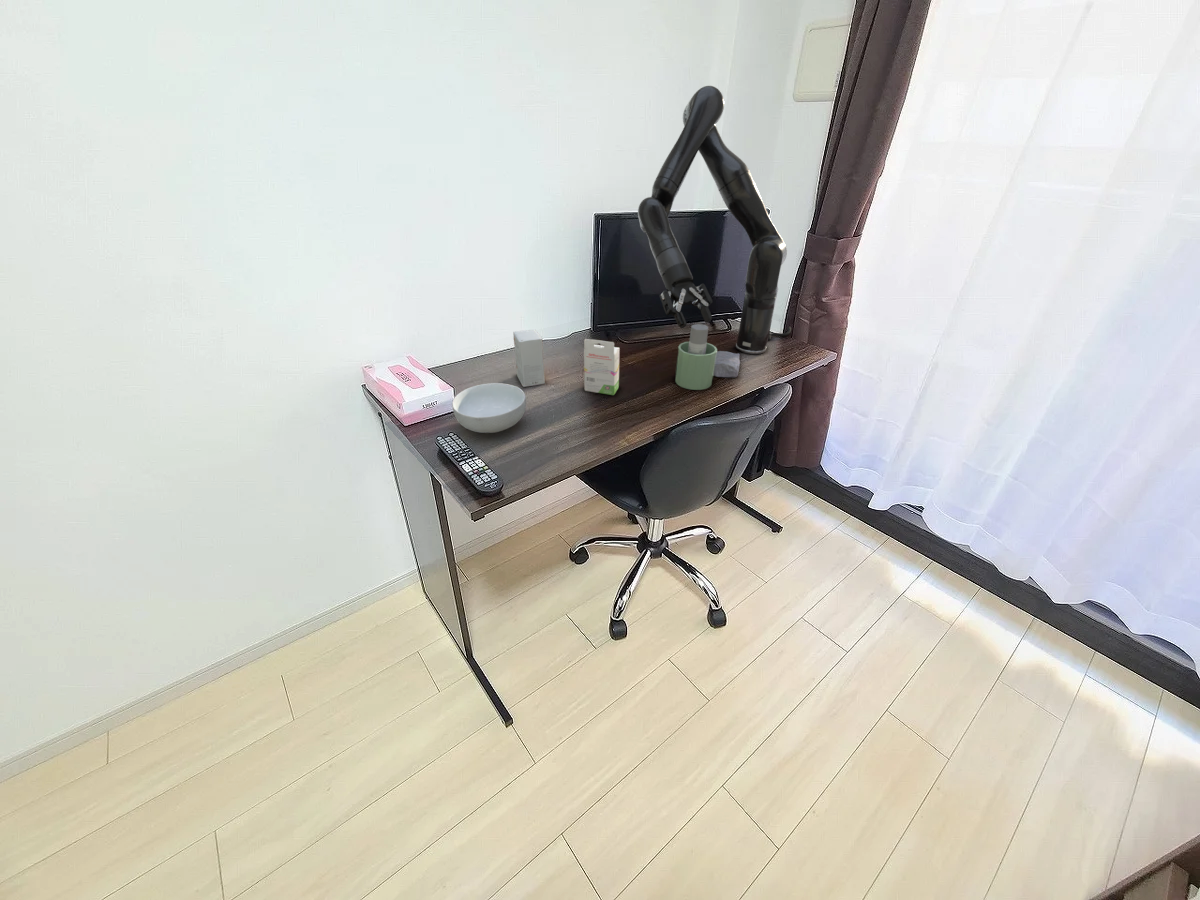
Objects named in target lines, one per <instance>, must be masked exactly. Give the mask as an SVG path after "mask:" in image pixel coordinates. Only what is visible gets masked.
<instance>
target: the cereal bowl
mask: <svg viewBox="0 0 1200 900" xmlns="http://www.w3.org/2000/svg"><path fill="white" fill-rule="evenodd" d="M451 407H452V412H453V414H454V417H455V419H456V421H457V422H458V423H459V424H460V425H461V426H462V427H463V428H465V429H466V430H468V431H470V432H471V431H472V432H475V433H482V434H494V433H499V432H503V431H505V430H508V429H510V428H512V427H514V426H515V425H516V424H517V423H518V422H520V420H521V419H522V418H523V416H524V414H525V412H526V409H527V398H526V393H525V392H524V391H523V390H522V389H521V388H520V387H518V386H516V385H513V384H508V383H502V382H489V383H481V384H477V385H472V386H470V387H468V388H465V389H463V390H461V391H460V392H459V393H457V394H456V395H455V396H454V398H453V399H452V403H451Z"/></svg>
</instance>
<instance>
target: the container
mask: <svg viewBox="0 0 1200 900" xmlns="http://www.w3.org/2000/svg"><path fill="white" fill-rule="evenodd" d="M708 335H709V326H708V325H706V324H701V323H695V324H692V325H691V327H690V334H689V339H688V340H689V341H688V342H689V347H688V353H690V354H696V355H705V353H706V346H707V343H708Z"/></svg>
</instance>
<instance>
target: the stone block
mask: <svg viewBox="0 0 1200 900" xmlns="http://www.w3.org/2000/svg"><path fill="white" fill-rule="evenodd" d="M740 361H741V360H740V353H735V352H730V351H725V350H719V351H718V350H717V355H716V362H715V369H714V375H713V377H716V378H732V379H733V378H734V379H735V378H737V377H738V376H739V371H740V365H741V364H740V363H741V362H740Z"/></svg>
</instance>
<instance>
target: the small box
mask: <svg viewBox="0 0 1200 900" xmlns="http://www.w3.org/2000/svg"><path fill="white" fill-rule="evenodd" d="M513 345H514V346H513V347H514V358H515V369H516V371H515V372H516V376H517V379H518V381H519V382H520V384H521V386H522V388H525V387H530V386H533V387H534V386H540V385H544V384H546V380H545V379H546V377H545V362H544V346H543V345H544V343H543V338H542V337H541V335H540V334H539V333H538V331H537V330H536V329H525V330H516V331H513Z"/></svg>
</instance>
